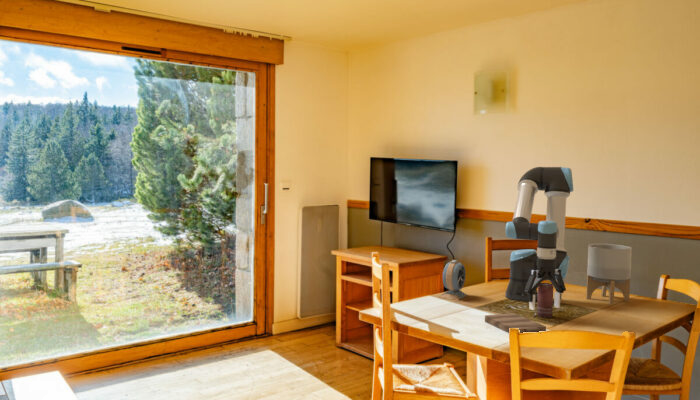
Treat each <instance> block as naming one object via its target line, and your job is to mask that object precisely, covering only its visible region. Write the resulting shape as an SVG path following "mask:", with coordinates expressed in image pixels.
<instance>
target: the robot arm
mask: <svg viewBox="0 0 700 400" xmlns="http://www.w3.org/2000/svg"><path fill="white" fill-rule="evenodd" d="M517 190H518V194H517V199H516V202H515V208H514V212H513V216H512V221H507V222H506V224H505V237H506V238H507V239H512V240H513V239H514V240H528V241H529V240H530V241H537V247H536V249H532V248H531V249H530V248H529V249H528V248H526V249H517V250H513V251H511V253H510V258H509V280H508V283H507V287H506V290H505V291H504V292H505V294H504V295H505V296H504V297H505V298H507V299H510V300H514V301H522V302H528V305H529V306H528V309H529V310H531V311H536V301H537V299H538V286H539V285H540V283H543V282H544V281H550V282H551V283H550V284H553V289H555V291H554V295H553V307H554V308H557V309H561V300H562V296H563V295H562V294H564V292H566V290H567V288H566V285H565V281H564V280H565V279H566V278H567V277H568V276H567V275H568V271H569V265H570V258H571V256H570V255H569V254H568V251H567V250H566V249H565V234H566V231H565V230H566V214H567V213H566V211H567V210H566V208H567V198H568V197H570V196H571V193H572V192H574V180H573V171H572V168H570V167H566V166H565V167H563V166H552V167H551V166H536V167H533V168H531V169H529V170H527V171H525V172H524V174H522V176H521V177H520V179H519V180H518V184H517ZM539 191H544V194H543V195H545V197H546V199H547V200H546V201H547V202H546V214H545V215H546V218H545V220H540V221H538V223H537V222H536V223H535V222H531V218H532V212H533V206H534V201H535V198H536V194H537V193H538V192H539ZM536 250H537V251H536Z"/></svg>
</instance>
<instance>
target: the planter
mask: <svg viewBox="0 0 700 400" xmlns="http://www.w3.org/2000/svg"><path fill="white" fill-rule="evenodd" d="M632 250H633V247H631V246H627V245H621V244H614V243H613V244H611V243H590V244H588V247H587V268H586V270H587V271H586V274H587V276H586V290H585V291H586V296H585V297H586V300H592V295H593V293H594V291H596V290H597V289H598V288H600V287H601V297H607V289H608V303H609V305H611V306H612V305H613V306H614V303H615V288H617V289H618V290H620V292H621V293H622V296H623V300H624V301H623V302H627V303H629V302H630V289H631V275H632V274H631V272H632V252H633V251H632Z"/></svg>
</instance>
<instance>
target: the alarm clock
mask: <svg viewBox="0 0 700 400" xmlns="http://www.w3.org/2000/svg"><path fill="white" fill-rule="evenodd" d="M466 274H467V273H466V268H465V265H464V264H463V263H462V262H460V261H459V260H458V259H452V260H451V261H449V262H448V263H446V264H445V266H444V268H443V271H442V283H443V287H444V288H446V289H447V290H448V291H446V292H444V293H442V294H441V295H440V296H439V298H441V297H445V298H444V299H448V298H452V299H451V300H455V299H458V300H457V301H459V299H460V300H461V298H462V299H464V298H465V297H467V296H468V294H467V293H465V292H463V291H462V288H463V287H464V285H465V282H466ZM466 295H467V296H466Z"/></svg>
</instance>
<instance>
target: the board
mask: <svg viewBox="0 0 700 400" xmlns="http://www.w3.org/2000/svg"><path fill="white" fill-rule="evenodd" d="M484 322H485V323H487V324H489V325H491V326H493V327H495V328H497V329H499V330H502V331H503V332H505V333H507V332H508V333H507V334H509V328H519V330H520V333H523V332H539V331H546V332H547V326H546V325H544V324H541V323H539V322H536V321H534V320H532V319H529V318H527V317H525V316H522V315H520V314H518V313H514V312H512V313H511V312H510V313H499V314H487V315H484Z"/></svg>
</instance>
